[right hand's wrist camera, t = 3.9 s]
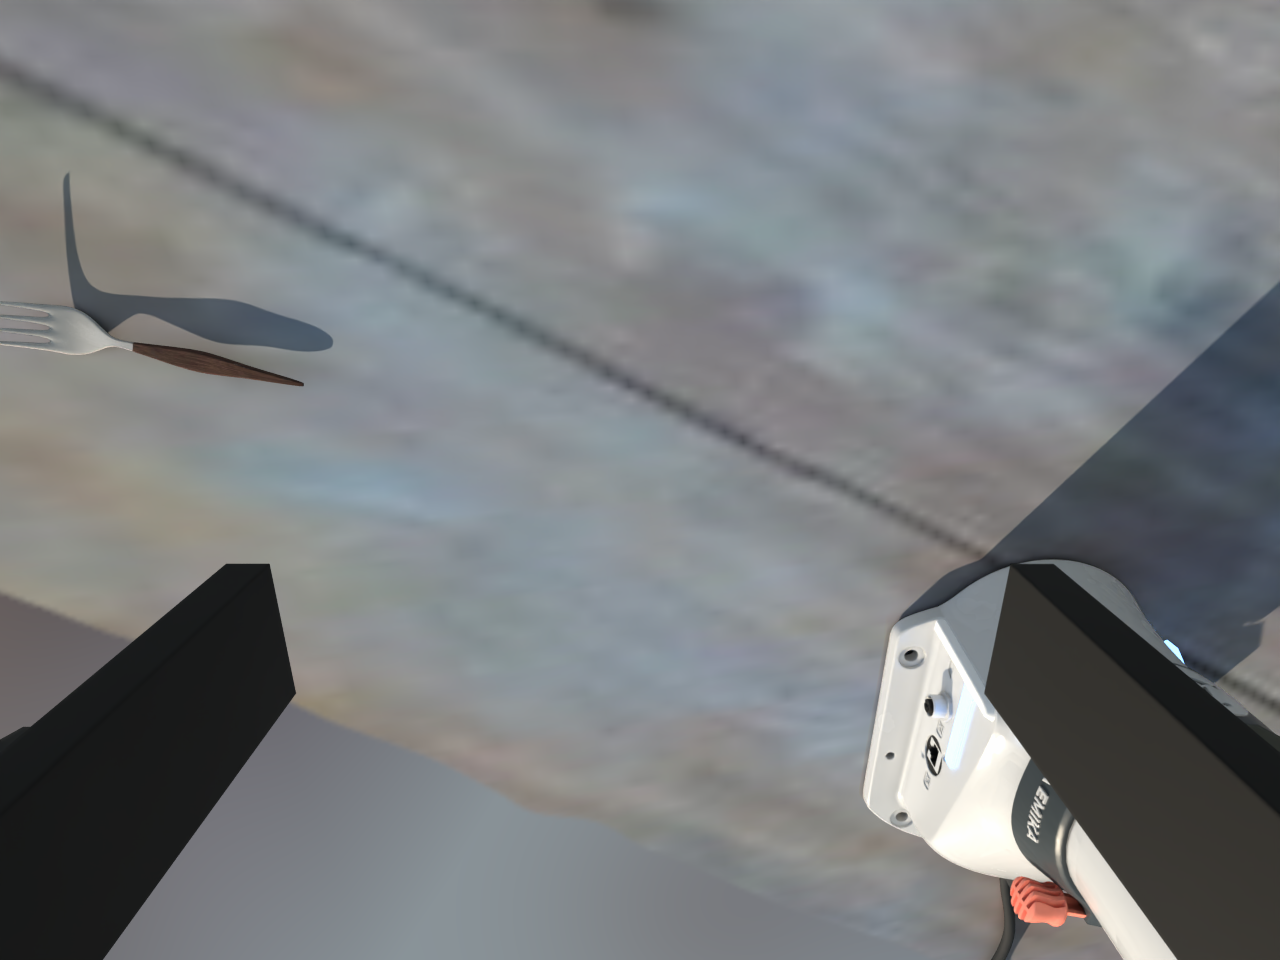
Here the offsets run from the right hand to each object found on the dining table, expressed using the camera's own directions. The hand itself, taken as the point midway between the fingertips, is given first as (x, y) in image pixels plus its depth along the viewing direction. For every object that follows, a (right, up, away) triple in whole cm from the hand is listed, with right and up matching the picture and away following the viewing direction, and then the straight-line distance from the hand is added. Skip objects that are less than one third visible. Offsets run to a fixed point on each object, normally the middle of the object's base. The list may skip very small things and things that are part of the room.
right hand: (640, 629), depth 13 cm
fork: (-26, +10, +26) cm, 38 cm away
